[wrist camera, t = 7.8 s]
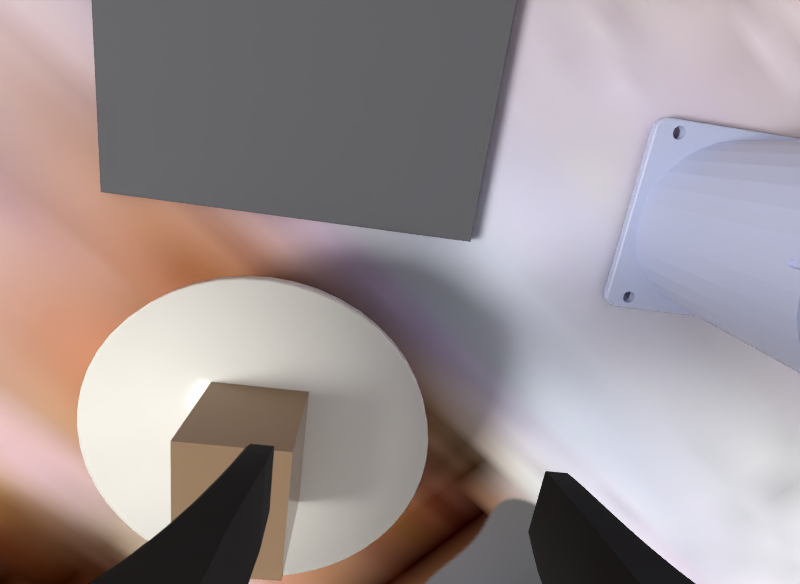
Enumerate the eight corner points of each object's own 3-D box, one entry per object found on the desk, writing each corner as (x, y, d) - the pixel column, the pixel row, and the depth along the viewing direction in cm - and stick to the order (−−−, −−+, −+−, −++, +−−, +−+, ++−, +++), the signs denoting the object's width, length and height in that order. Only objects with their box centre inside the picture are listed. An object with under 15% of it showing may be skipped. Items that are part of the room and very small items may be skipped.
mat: (543, -158, 16) (548, -167, 16) (468, 239, 20) (470, 241, 20) (88, -255, 15) (78, -268, 14) (107, 190, 19) (100, 192, 19)
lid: (452, 299, 17) (475, 346, 13) (401, 574, 21) (407, 673, 17) (75, 253, 16) (-23, 290, 12) (96, 552, 20) (27, 653, 16)
